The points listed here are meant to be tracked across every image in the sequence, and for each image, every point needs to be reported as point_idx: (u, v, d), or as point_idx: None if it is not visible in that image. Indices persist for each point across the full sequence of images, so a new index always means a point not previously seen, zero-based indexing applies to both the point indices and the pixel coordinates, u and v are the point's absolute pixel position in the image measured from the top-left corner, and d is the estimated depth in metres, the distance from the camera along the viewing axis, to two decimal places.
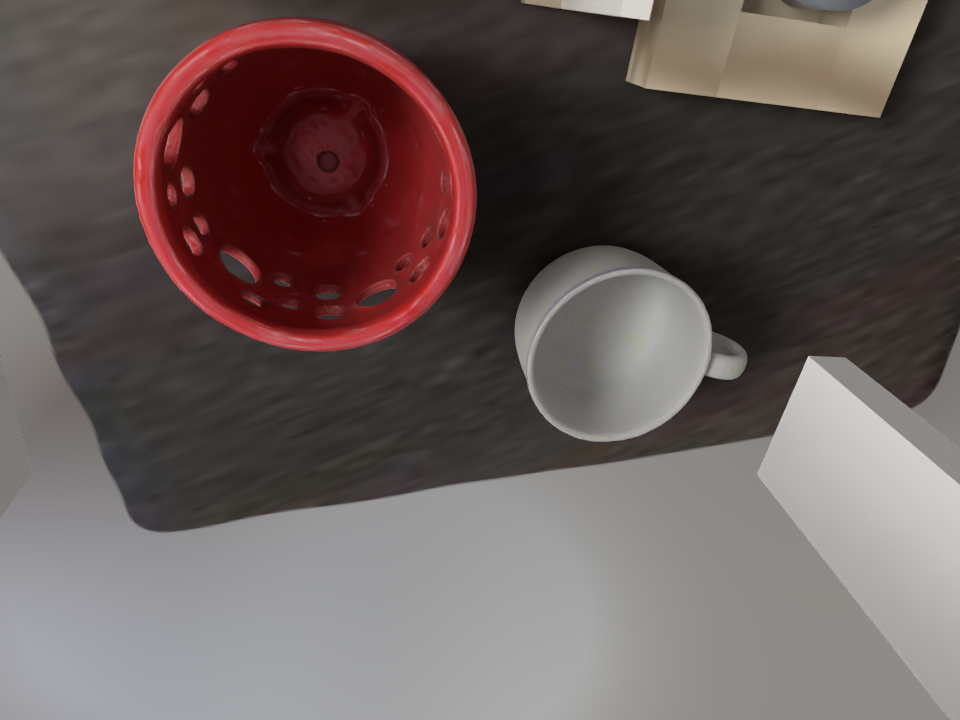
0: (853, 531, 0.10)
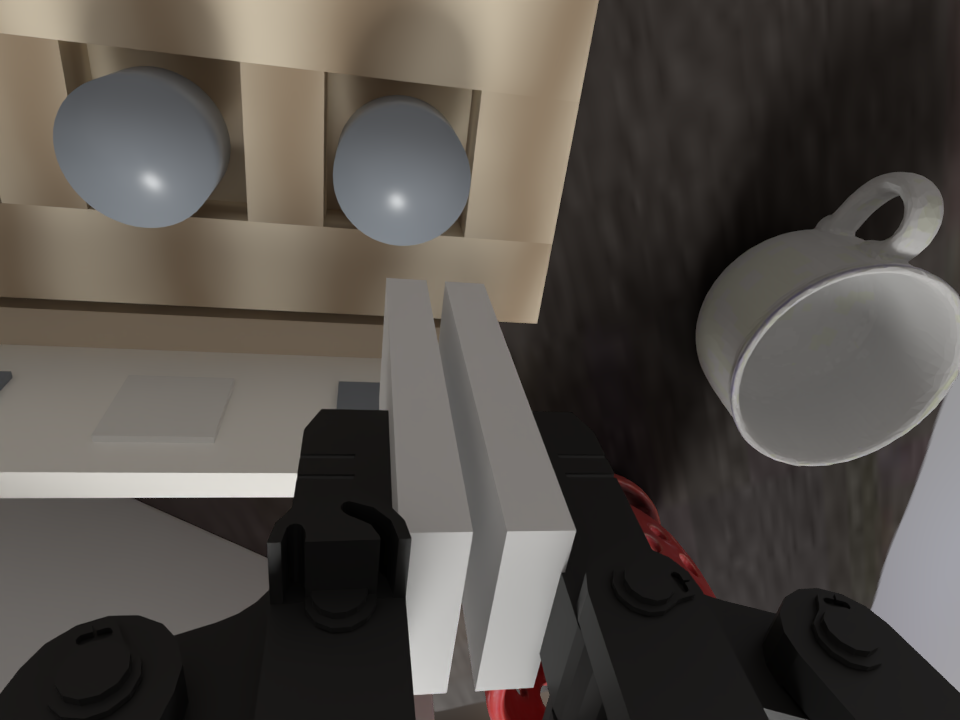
0: None
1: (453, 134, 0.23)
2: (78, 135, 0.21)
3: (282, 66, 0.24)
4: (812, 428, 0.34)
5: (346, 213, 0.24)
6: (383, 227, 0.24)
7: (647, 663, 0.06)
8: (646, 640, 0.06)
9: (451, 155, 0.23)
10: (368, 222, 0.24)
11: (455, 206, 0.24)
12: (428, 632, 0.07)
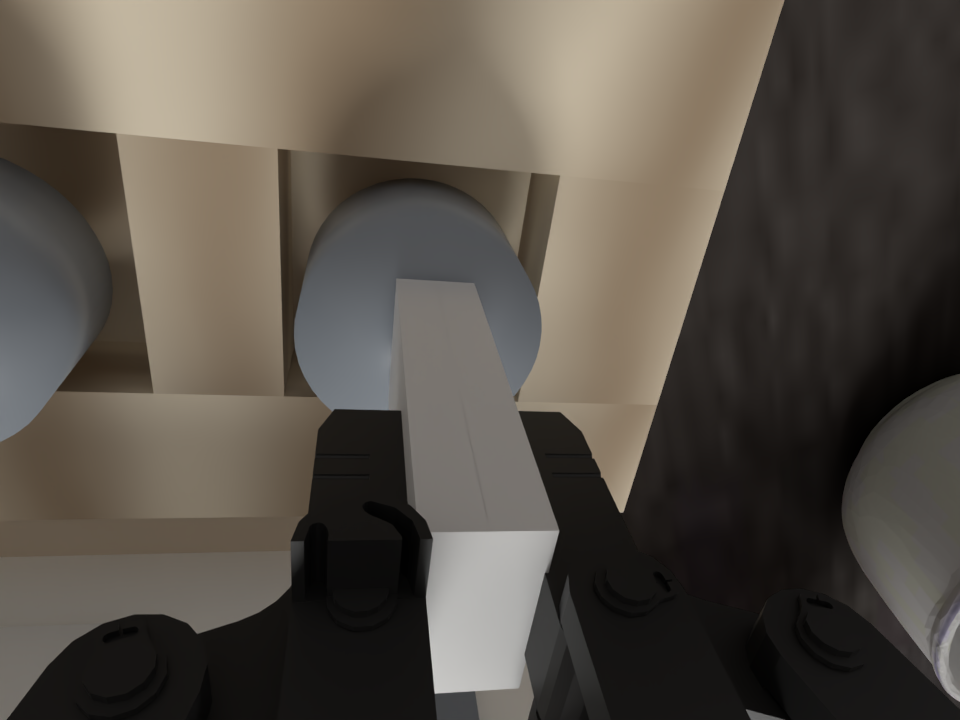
0: None
1: (514, 262, 0.12)
2: None
3: (198, 139, 0.13)
4: None
5: (320, 395, 0.13)
6: None
7: (629, 664, 0.06)
8: (628, 641, 0.06)
9: (509, 297, 0.13)
10: (359, 407, 0.14)
11: (512, 376, 0.14)
12: (444, 632, 0.07)
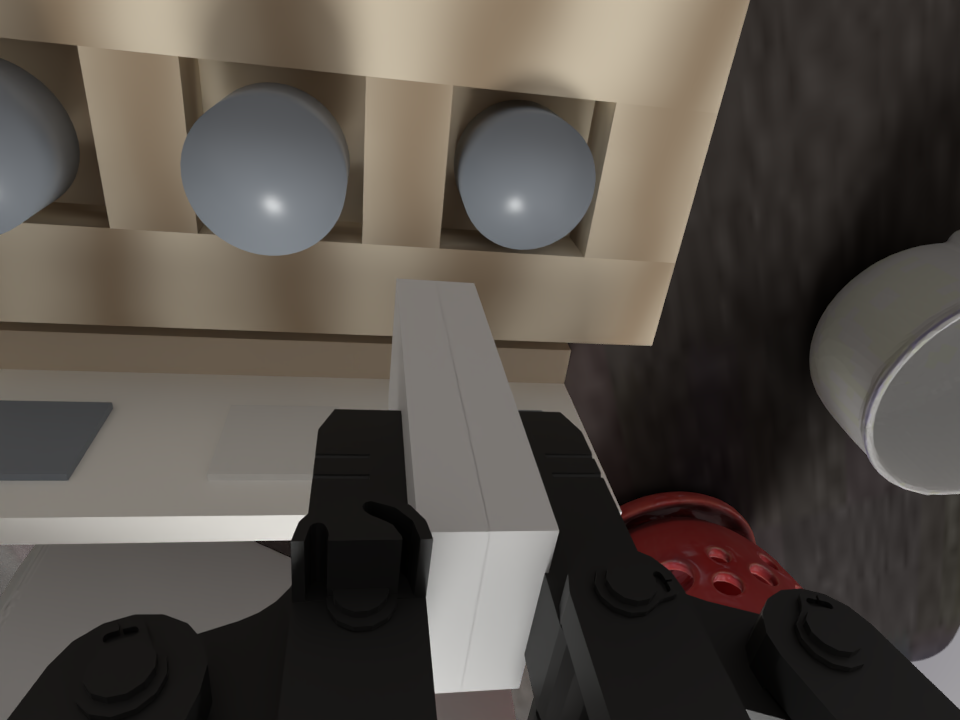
0: None
1: (582, 139, 0.23)
2: (206, 159, 0.20)
3: (409, 80, 0.22)
4: (936, 453, 0.32)
5: (471, 218, 0.24)
6: (506, 231, 0.24)
7: (629, 664, 0.06)
8: (628, 641, 0.06)
9: (578, 159, 0.23)
10: (492, 227, 0.24)
11: (578, 210, 0.24)
12: (445, 632, 0.07)
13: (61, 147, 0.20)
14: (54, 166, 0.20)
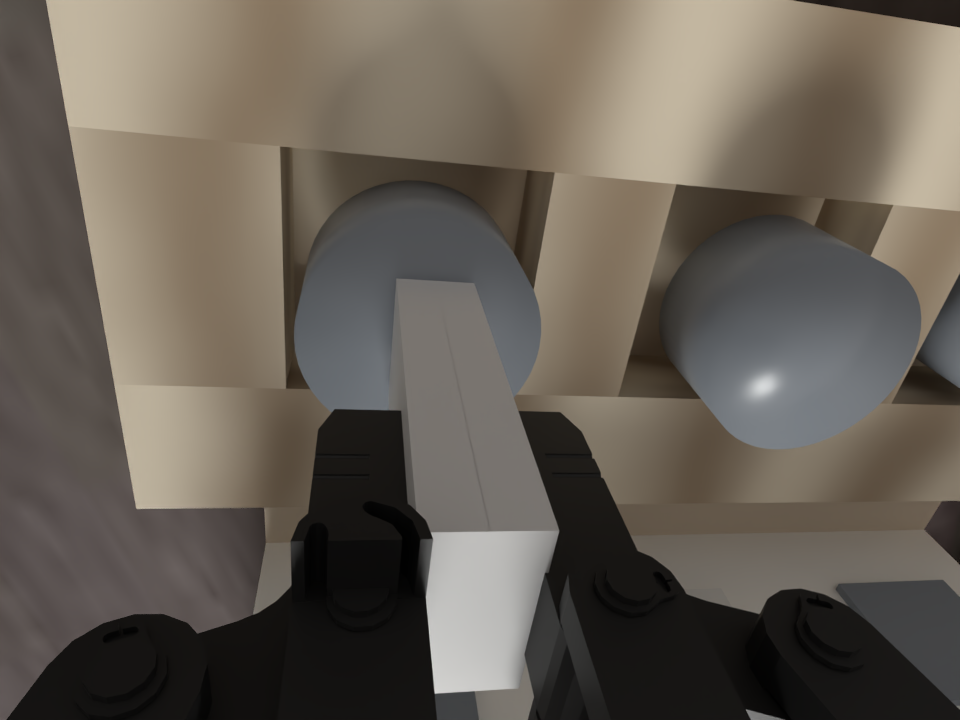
0: None
1: None
2: (756, 338, 0.14)
3: (938, 208, 0.17)
4: None
5: None
6: None
7: (629, 664, 0.06)
8: (628, 641, 0.06)
9: None
10: None
11: None
12: (444, 631, 0.07)
13: None
14: None
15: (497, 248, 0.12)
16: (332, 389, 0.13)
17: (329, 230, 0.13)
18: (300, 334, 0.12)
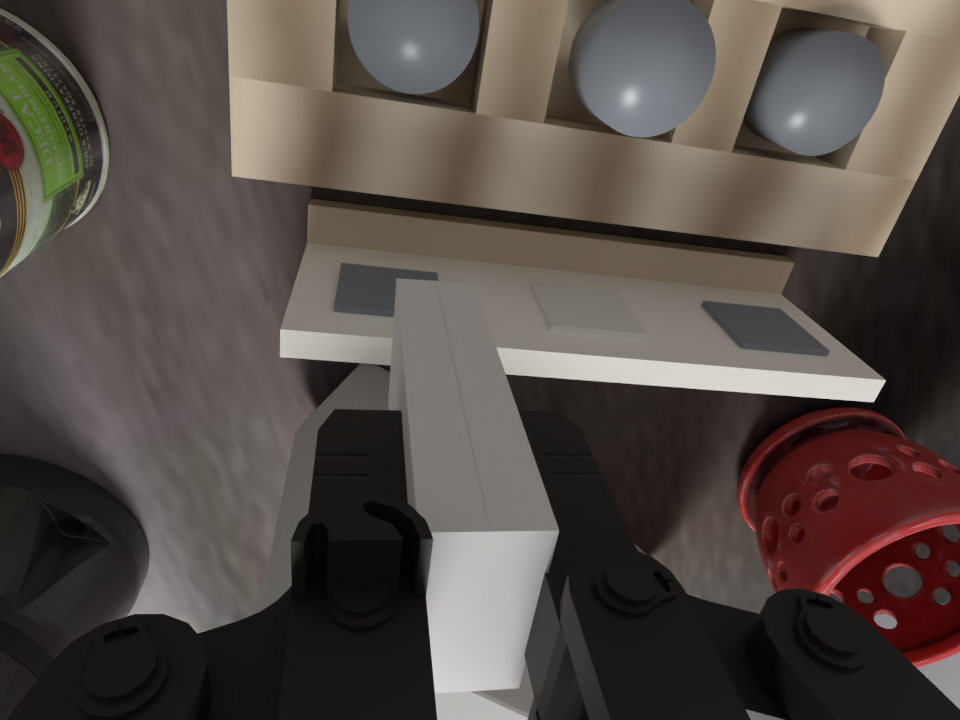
0: None
1: (880, 58, 0.27)
2: (613, 47, 0.24)
3: None
4: None
5: (775, 123, 0.28)
6: (798, 138, 0.29)
7: (629, 664, 0.06)
8: (628, 641, 0.06)
9: (873, 76, 0.28)
10: (789, 132, 0.28)
11: (860, 122, 0.28)
12: (445, 632, 0.07)
13: None
14: None
15: None
16: (366, 51, 0.25)
17: None
18: (351, 11, 0.24)
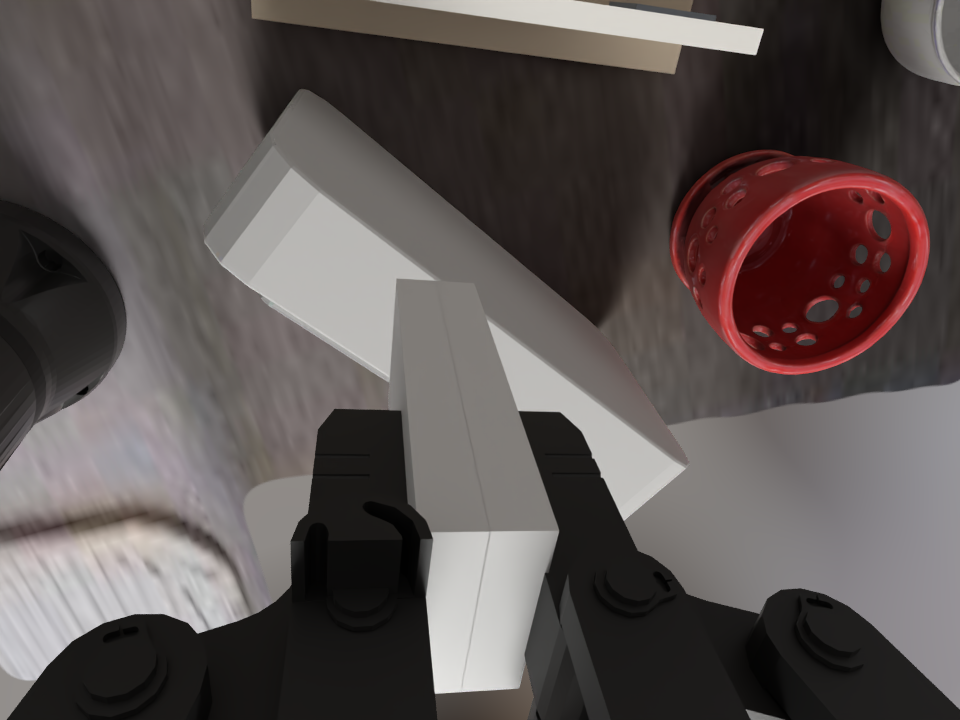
0: None
1: None
2: None
3: None
4: None
5: None
6: None
7: (629, 664, 0.06)
8: (628, 641, 0.06)
9: None
10: None
11: None
12: (444, 631, 0.07)
13: None
14: None
15: None
16: None
17: None
18: None
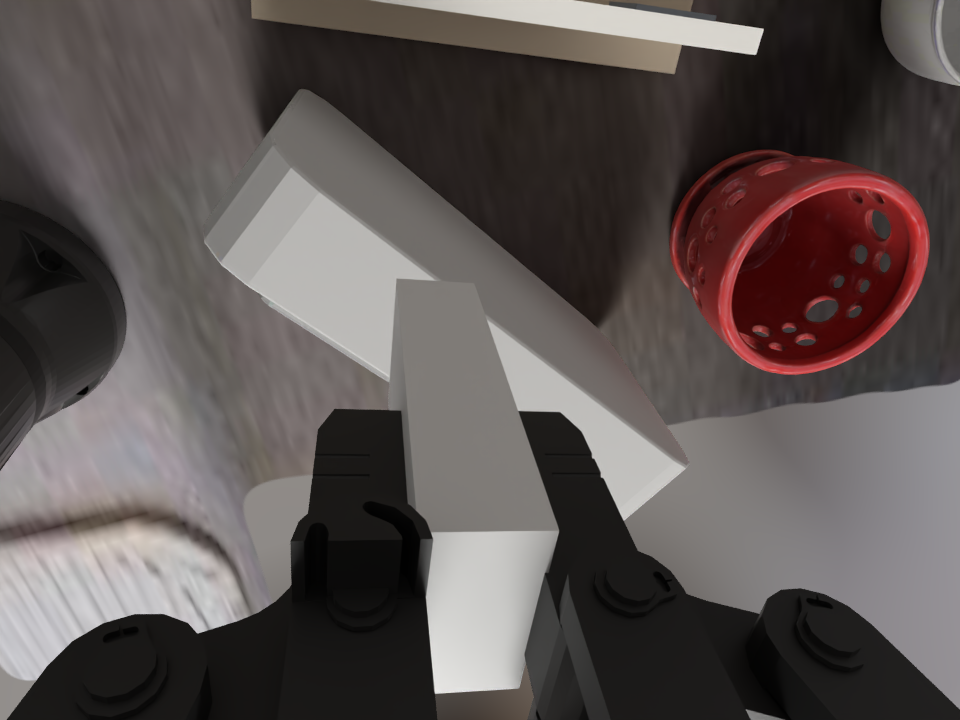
0: None
1: None
2: None
3: None
4: None
5: None
6: None
7: (629, 664, 0.06)
8: (628, 641, 0.06)
9: None
10: None
11: None
12: (444, 632, 0.07)
13: None
14: None
15: None
16: None
17: None
18: None
